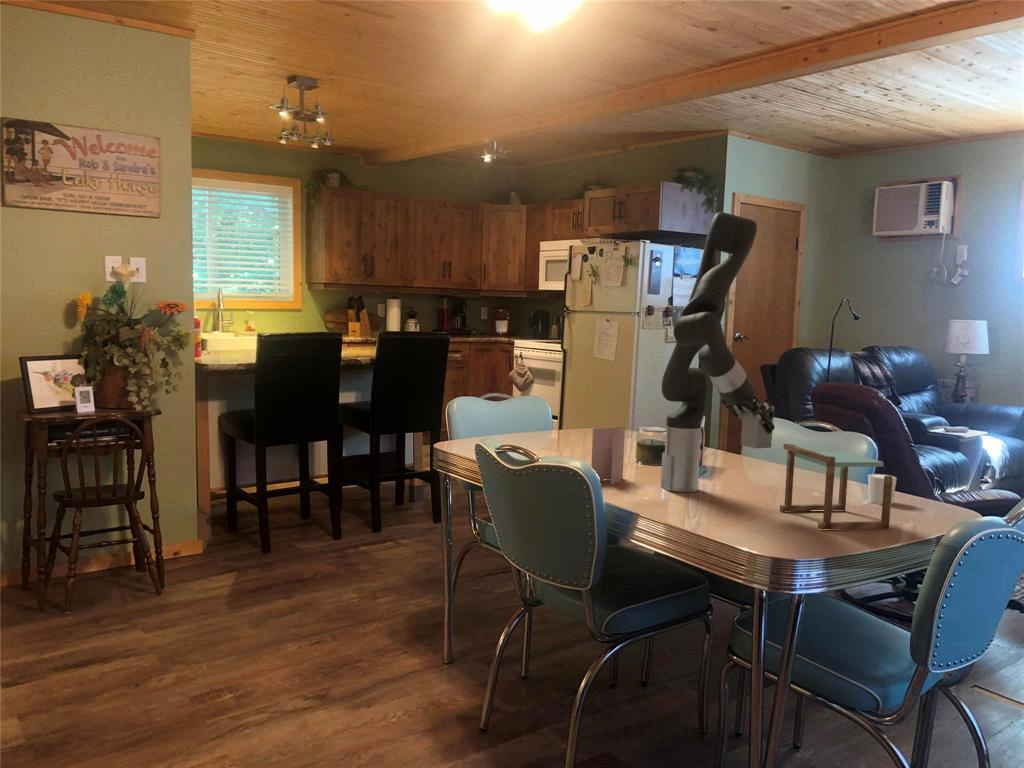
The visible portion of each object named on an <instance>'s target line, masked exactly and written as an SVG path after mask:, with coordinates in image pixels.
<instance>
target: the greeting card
mask: <svg viewBox="0 0 1024 768" xmlns="http://www.w3.org/2000/svg"><path fill="white" fill-rule="evenodd" d="M625 433H626V427H625V426H619V427H618V426H616V427H602V428H601V427H600V428H592V440H591V441H592V442H591V465H590V466H591V467H592V468H593V469H594V470H595V471H596V473H597V474H598V476H599V477H600V480H601V481H602V482H603V481H605V480H604V479H611V480H610V486H612V484H613V485H615V484H616V483H618V482H619V481H621V480H622V479H621V478H624V458H625V457H624V456H625V436H626V434H625ZM591 467H590V468H591ZM620 479H621V480H620ZM618 480H619V481H618ZM617 481H618V482H617ZM615 482H616V483H615Z"/></svg>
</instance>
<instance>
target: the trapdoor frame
mask: <svg viewBox="0 0 1024 768" xmlns="http://www.w3.org/2000/svg"><path fill="white" fill-rule="evenodd" d="M783 450H786V451H787V458H786V473H785V491H784V492H785V493H784V504H779V512H781V511H782V512H781V513H784V512H783V511H811V510H824V511H823V516H822V517H823V518H822V521H821V522H817V529H818V528H819V529H855V530H854V531H862V530H863V529H868V530H889V529H890V520H891V519H890V517H891V508H892V506H891V505H892V504H891V493H892V479H893V477H891V476H892V475H890V476H884V489H883V503H882V505H881V507H882V508H881V516H880V517H881V520H879V521H878V520H876V521H875V520H874V521H870V520H869V521H835V522H834V521H833V522H832V516H833V515H832V513H833V511H832V510H845V511H846V504H847V490H848V477H849V474H848V473H849V467H840V472H839V473H840V475H839V489H838V490H839V491H838V503H833V497H834V483H835V468H836V467H835V457H833V456H826V455H823V454H819V453H816V452H817V451H813V450H809V449H806V448H803V447H800V446H796V444H794V443H793V444H792V443H791V444H789V443H783ZM794 452H795V453H798V454H801V455H804V456H807V457H810V458H813V459H817V460H820V461H823V462H827V467H826V471H825V487H824V499H823V500H824V501H823V503H821V504H820V503H819V504H817V503H816V504H812V503H811V504H793V490H794V489H793V487H794V476H795V475H794V474H795V472H794V471H795V469H794V468H795V458H796V456H794ZM819 529H818V530H819ZM861 529H862V530H861Z"/></svg>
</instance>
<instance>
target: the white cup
mask: <svg viewBox="0 0 1024 768" xmlns="http://www.w3.org/2000/svg"><path fill="white" fill-rule="evenodd" d="M884 476H891V477H893V479H892V493H891V505H893V502H894V495H895V490H896V485H897V479H898V478H897V477H896V476H893V475H889V474H882V473H869V474H867V484H868V485H867V487H868V489H867V490H868V492H867V493H868V502H869V501H871V502H874V503H880V504H882V503H883V489H884ZM871 502H870V503H871ZM874 503H873V504H874ZM880 504H879V505H880Z"/></svg>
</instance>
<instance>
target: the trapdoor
mask: <svg viewBox="0 0 1024 768" xmlns="http://www.w3.org/2000/svg"><path fill="white" fill-rule="evenodd" d="M815 452H816V453H819V454H823V455H826V456H833V457H835V468H841V467H848V468H855V467H857V468H866V467H867V468H869V467H873V468H874V467H884V463H885V462H884V461H881V460H877V459H874V458H870V457H866V456H863V455H860V454H856V453H852V452H848V451H815ZM794 456H795V458H798V459H799V458H800V459H802V460H805V461H809V462H811V463H814V464H817V465H821V466H823V467H826V468H827V462H823V461H820V460H817V459H813V458H810V457H807V456H804V455H801V454H798V453H795V452H794Z"/></svg>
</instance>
